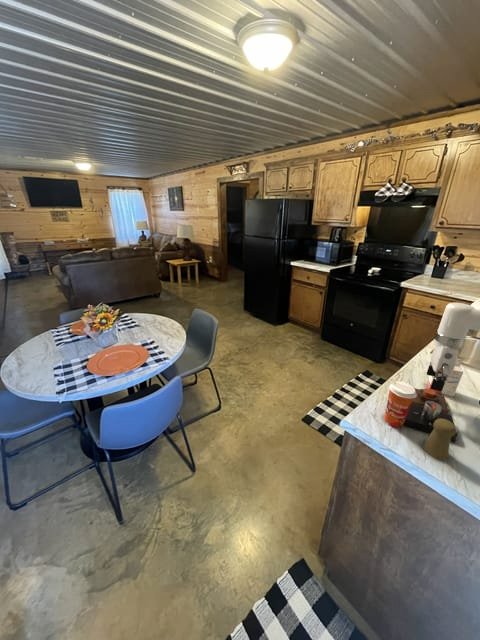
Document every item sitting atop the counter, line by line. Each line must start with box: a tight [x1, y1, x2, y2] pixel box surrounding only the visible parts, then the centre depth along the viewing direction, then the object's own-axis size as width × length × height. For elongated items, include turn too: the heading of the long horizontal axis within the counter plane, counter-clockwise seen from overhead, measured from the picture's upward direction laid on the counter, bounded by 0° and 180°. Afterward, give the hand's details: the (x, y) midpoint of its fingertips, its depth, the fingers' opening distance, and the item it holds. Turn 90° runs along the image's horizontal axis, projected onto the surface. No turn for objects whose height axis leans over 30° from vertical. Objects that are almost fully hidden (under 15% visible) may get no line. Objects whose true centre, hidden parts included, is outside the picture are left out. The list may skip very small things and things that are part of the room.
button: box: [423, 387, 436, 398], centre depth 98 cm, size 4×4×2 cm
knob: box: [421, 401, 441, 422], centre depth 87 cm, size 4×4×5 cm
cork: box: [423, 419, 457, 461], centre depth 77 cm, size 6×6×11 cm
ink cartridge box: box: [426, 358, 464, 397], centre depth 104 cm, size 9×5×15 cm, turn 65°
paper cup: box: [384, 381, 417, 428], centre depth 88 cm, size 8×8×14 cm
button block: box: [412, 387, 450, 414], centre depth 99 cm, size 12×10×4 cm
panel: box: [403, 404, 459, 443], centre depth 89 cm, size 14×10×3 cm
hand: (433, 382), depth 94 cm, fingers open, 9 cm apart
